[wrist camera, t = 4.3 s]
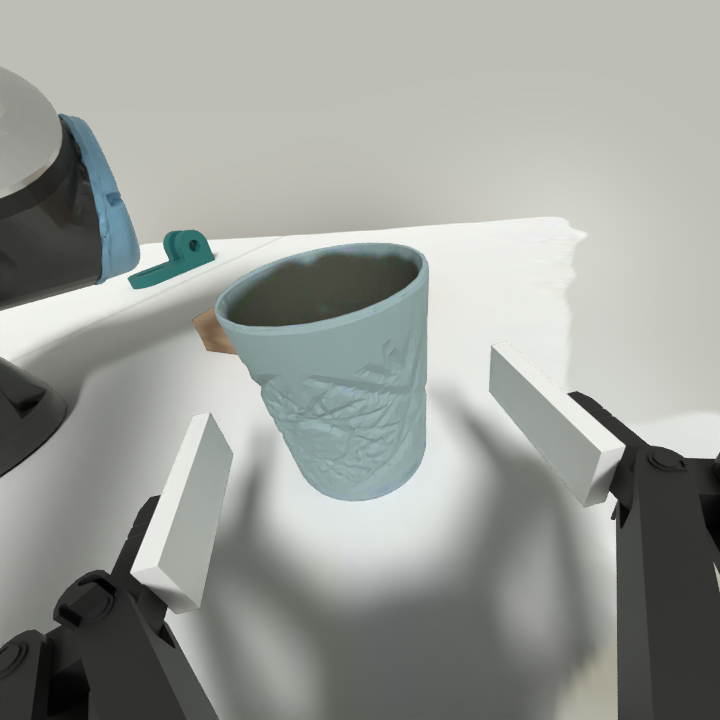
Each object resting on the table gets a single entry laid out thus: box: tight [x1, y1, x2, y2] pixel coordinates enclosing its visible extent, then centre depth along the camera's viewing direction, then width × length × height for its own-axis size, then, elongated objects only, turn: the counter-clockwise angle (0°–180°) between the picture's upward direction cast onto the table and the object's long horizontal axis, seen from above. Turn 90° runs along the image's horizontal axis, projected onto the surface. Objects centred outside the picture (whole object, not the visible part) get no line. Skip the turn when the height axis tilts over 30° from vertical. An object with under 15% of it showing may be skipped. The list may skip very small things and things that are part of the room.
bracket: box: [128, 230, 215, 289], centre depth 73 cm, size 18×7×8 cm, turn 148°
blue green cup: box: [215, 243, 429, 501], centre depth 19 cm, size 10×10×12 cm
